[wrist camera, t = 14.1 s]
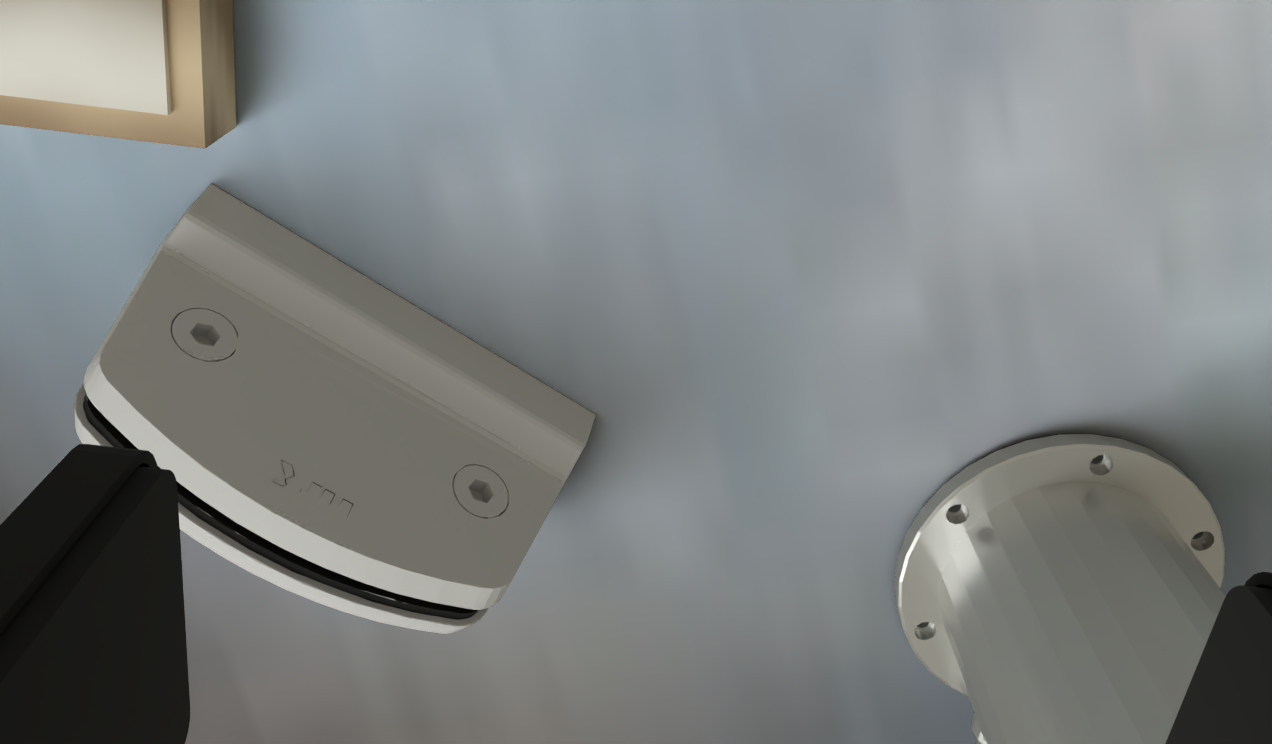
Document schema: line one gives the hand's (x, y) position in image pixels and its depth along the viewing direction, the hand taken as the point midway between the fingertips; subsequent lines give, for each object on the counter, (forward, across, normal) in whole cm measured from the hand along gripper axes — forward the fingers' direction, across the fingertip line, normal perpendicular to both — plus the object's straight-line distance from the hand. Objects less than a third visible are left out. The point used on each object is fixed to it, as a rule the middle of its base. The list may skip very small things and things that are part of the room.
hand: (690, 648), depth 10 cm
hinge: (+31, +10, +13) cm, 35 cm away
